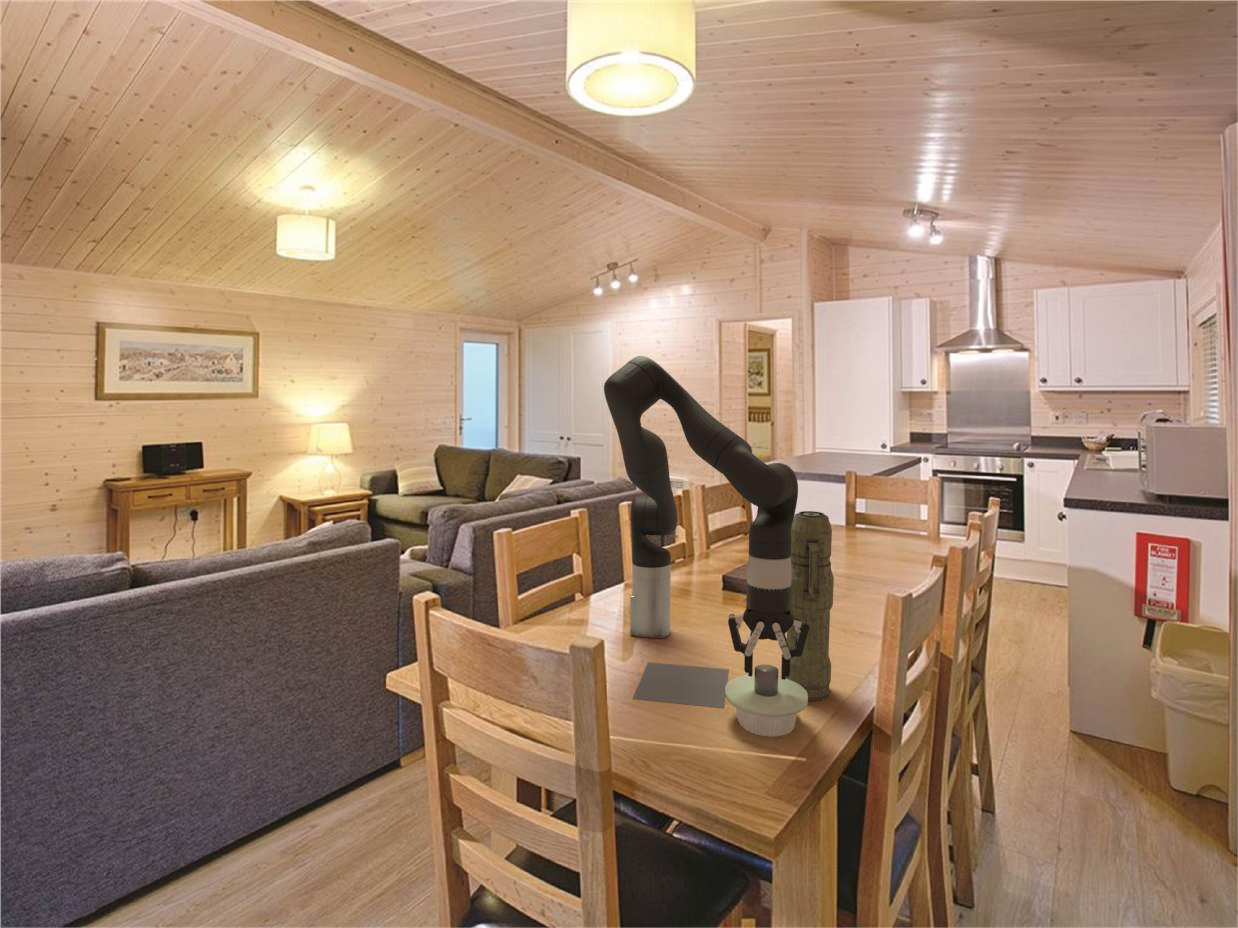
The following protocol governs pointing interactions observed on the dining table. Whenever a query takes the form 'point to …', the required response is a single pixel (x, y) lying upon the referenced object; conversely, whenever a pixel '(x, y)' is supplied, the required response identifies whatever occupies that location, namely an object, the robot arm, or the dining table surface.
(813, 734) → the dining table surface
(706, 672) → the mat
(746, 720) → the ramekin
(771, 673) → the lid
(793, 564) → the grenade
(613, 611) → the dining table surface
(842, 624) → the dining table surface
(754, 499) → the robot arm
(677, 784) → the dining table surface
